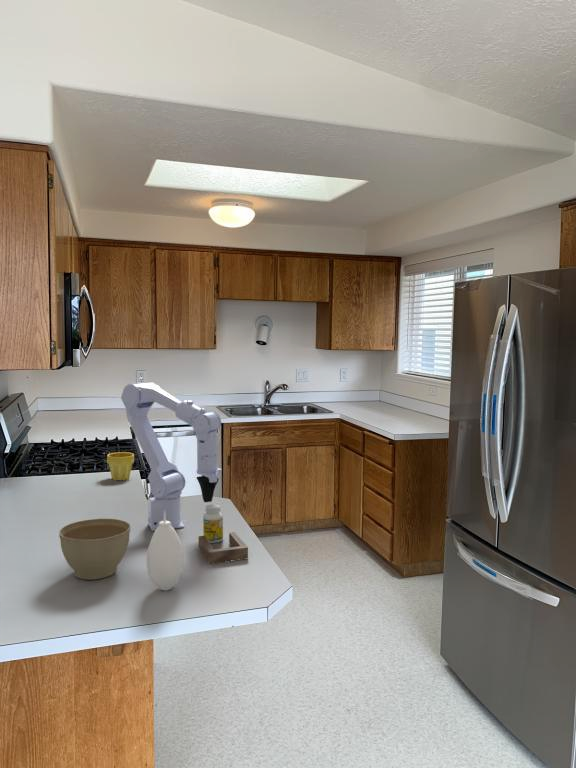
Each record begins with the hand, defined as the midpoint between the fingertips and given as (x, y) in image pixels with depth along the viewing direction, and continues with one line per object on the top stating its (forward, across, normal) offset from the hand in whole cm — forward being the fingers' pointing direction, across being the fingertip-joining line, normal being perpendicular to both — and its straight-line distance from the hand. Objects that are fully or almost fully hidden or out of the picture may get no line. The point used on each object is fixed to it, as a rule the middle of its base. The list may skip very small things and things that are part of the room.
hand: (207, 501), depth 167 cm
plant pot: (+9, +74, +18) cm, 77 cm away
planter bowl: (+9, -18, +32) cm, 38 cm away
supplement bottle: (+9, -6, 0) cm, 11 cm away
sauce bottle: (+9, -34, +18) cm, 39 cm away
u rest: (+9, -16, 0) cm, 19 cm away
